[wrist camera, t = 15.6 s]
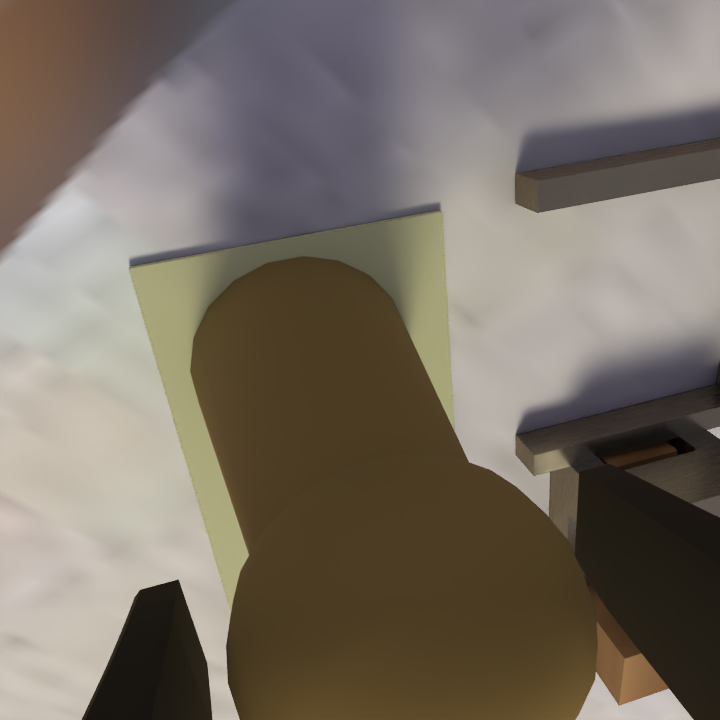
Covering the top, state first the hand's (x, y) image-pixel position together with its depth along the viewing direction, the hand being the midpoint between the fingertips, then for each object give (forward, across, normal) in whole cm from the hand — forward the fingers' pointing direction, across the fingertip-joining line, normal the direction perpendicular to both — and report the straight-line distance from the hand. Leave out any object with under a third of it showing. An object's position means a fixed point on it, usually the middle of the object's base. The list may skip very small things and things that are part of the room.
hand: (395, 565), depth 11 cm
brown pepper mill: (+8, 0, 0) cm, 8 cm away
